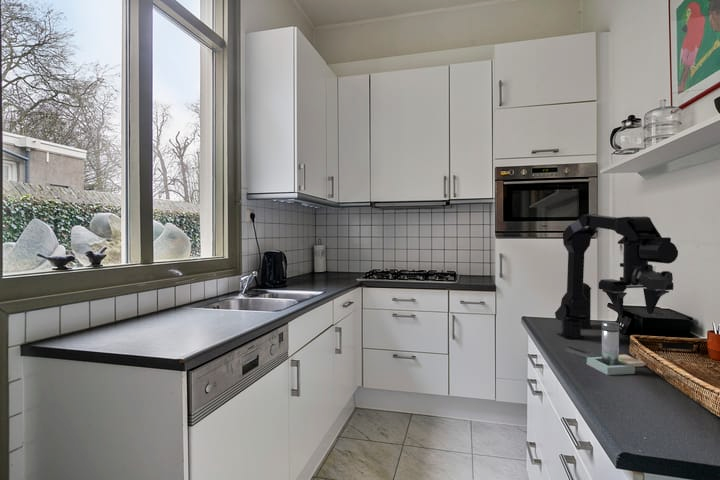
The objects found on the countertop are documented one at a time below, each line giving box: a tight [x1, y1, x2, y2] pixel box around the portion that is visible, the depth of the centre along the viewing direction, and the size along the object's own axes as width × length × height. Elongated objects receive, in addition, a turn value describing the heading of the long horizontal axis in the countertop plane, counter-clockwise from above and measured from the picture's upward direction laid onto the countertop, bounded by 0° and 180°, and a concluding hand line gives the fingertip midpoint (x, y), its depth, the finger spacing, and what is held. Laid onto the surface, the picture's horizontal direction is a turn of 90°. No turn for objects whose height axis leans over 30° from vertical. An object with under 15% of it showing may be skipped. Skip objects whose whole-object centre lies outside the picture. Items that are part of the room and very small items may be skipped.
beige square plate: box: [619, 353, 646, 368], centre depth 110 cm, size 7×7×1 cm
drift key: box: [565, 346, 595, 359], centre depth 118 cm, size 8×2×1 cm, turn 25°
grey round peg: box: [601, 320, 620, 366], centre depth 105 cm, size 4×4×13 cm
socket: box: [586, 356, 636, 376], centre depth 106 cm, size 8×8×2 cm
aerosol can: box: [580, 282, 592, 330], centre depth 149 cm, size 8×8×20 cm
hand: (635, 314), depth 108 cm, fingers open, 9 cm apart
